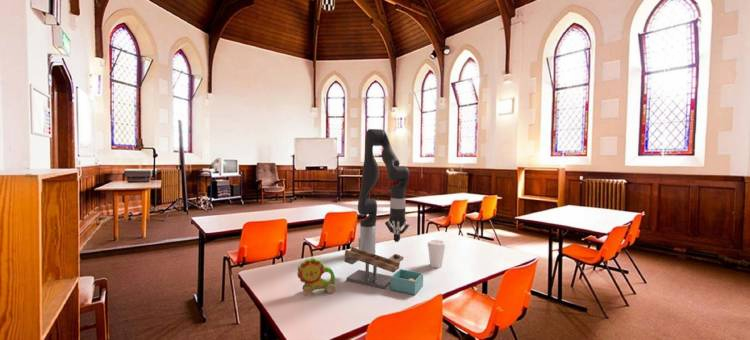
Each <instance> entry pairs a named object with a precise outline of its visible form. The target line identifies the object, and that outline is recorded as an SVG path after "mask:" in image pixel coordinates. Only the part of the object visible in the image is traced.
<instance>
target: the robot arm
mask: <svg viewBox="0 0 750 340" xmlns="http://www.w3.org/2000/svg"><path fill="white" fill-rule="evenodd" d="M364 142H365V143H364V159H363V167H362V174H361V185H360V192H359V197H358V200H357V201H358V202H357V203H358V204H357V212H358V214H359V215H362V216H363V215H365V216H366V215H367V216H366V217H364V218H363V219H361V220H360V221H359V224H360V225H359V226H360V229H359V238H358V249H360V250H363V251H366V252H369V253H372V254H375V255H376V233H377V232H376V228H377V227H376V225H377V217H378V216H377V214H378V213H377V212H378V202H377V200H376V198H368V195H369V193H370V192H371V190H372V189H373V187H375V186H376V183H377V181H378V180H379V173H380V167H379V165H378V163H377V161H376V159H375V156H374V151H373V149H374V146H375V147H382V148H383V149H382V151H381V158H382V162H383V164H384V165H385V167H386V170H387V171H386V172H387V176H388V177H387V178H388V179H390V181H392V182H398V181H399V182H398V183H397V184H395V185H393V186H391V188H390V203H389V204H390V205H389V210H390V211H389V219H388V220H387V221H385V222H384V224H385V225H386V227H387V229H388V231H389V233H392V234H393V241H394V242H396V243H399V241H400V240H401V235H402V234H404V233H405V232H406V231H407V230H408V228H409V227H410V225H411V224H410V223H408V222H407V219H406V208H407V206H406V205H407V203H406V189H407V186H408V183H409V179H410V170H409V168H408V167H407V166H400V160H399V159H398V157H397V155H396V153H395V152H394V150H393V148H392V145H391V142H390V139H389V136H388V135H387V132H386V131H385V130H384V129H381V128H379V129H377V128H369V129H367V130H366V133H365V141H364ZM402 227H403V228H402Z"/></svg>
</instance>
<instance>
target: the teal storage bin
mask: <svg viewBox="0 0 750 340" xmlns="http://www.w3.org/2000/svg"><path fill="white" fill-rule="evenodd" d="M391 276H392V277H391V284H390V291H391V292H398V293H402V294H406V295H407V294H408V295H411V296H416V295H417V294H418V292H420V290H421V289H422V288H423V286H424V272H418V271H414V270H413V271H412V270H409V269H408V270H407V269H404V268H403V269H402V268H399V269H398V270H397V272H396V271H395V272H394V274H393V275H391ZM410 278H411V279H414V280H415V281H412V280H408V279H410Z"/></svg>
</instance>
